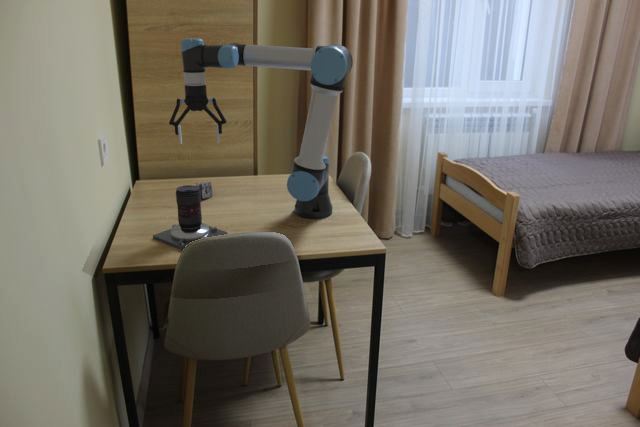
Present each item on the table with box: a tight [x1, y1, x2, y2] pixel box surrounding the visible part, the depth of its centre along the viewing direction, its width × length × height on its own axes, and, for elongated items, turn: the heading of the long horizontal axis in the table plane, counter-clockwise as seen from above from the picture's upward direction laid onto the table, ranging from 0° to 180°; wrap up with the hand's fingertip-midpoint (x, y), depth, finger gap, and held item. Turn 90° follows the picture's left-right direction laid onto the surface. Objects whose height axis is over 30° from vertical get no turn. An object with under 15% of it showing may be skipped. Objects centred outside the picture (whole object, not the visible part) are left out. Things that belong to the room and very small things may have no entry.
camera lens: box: [175, 184, 203, 233], centre depth 176 cm, size 8×8×15 cm
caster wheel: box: [195, 181, 213, 200], centre depth 220 cm, size 7×11×10 cm
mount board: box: [152, 222, 228, 251], centre depth 179 cm, size 18×18×3 cm
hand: (199, 143), depth 189 cm, fingers open, 13 cm apart
